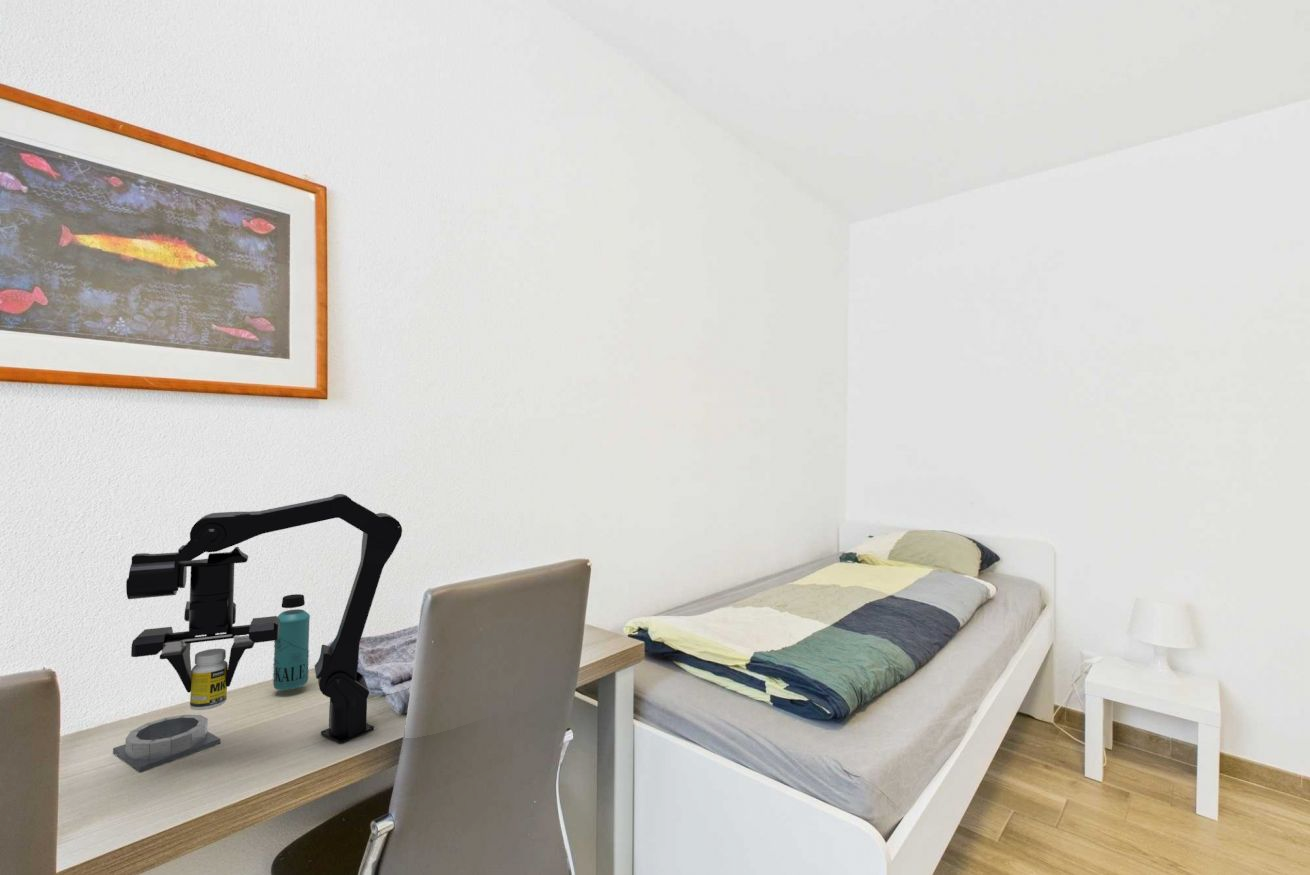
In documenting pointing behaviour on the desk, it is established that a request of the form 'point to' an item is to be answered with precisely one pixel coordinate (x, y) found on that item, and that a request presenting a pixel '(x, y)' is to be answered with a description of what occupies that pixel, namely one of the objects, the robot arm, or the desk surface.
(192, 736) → the ring plate
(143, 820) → the desk surface
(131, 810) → the desk surface
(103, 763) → the desk surface
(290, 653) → the beverage bottle
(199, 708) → the supplement bottle
